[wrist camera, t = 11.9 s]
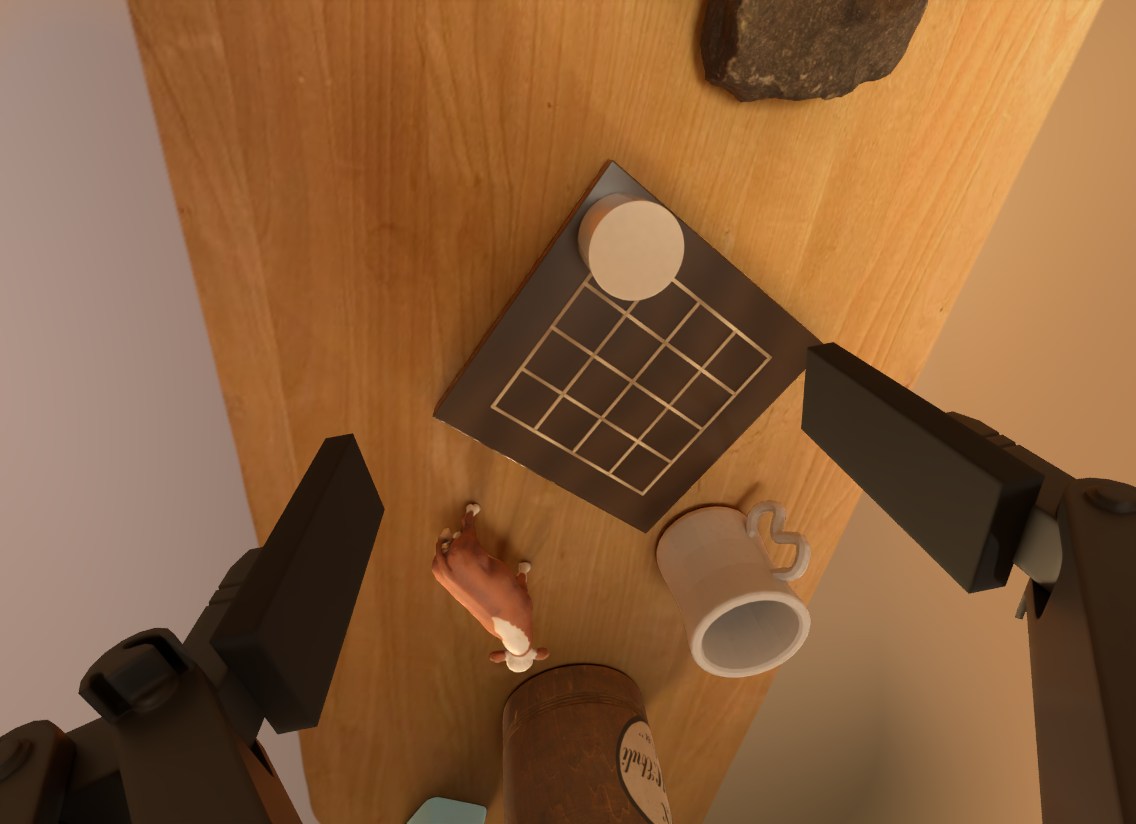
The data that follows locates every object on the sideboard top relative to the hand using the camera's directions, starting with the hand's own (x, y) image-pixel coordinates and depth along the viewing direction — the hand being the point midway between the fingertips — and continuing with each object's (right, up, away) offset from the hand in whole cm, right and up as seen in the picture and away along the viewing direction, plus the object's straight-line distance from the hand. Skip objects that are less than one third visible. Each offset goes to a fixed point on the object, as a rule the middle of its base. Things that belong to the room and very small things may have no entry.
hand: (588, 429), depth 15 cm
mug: (+12, -10, +31) cm, 34 cm away
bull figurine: (-7, -11, +29) cm, 32 cm away
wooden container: (0, -31, +40) cm, 51 cm away
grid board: (+4, +3, +22) cm, 23 cm away
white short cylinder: (+3, +11, +17) cm, 20 cm away
